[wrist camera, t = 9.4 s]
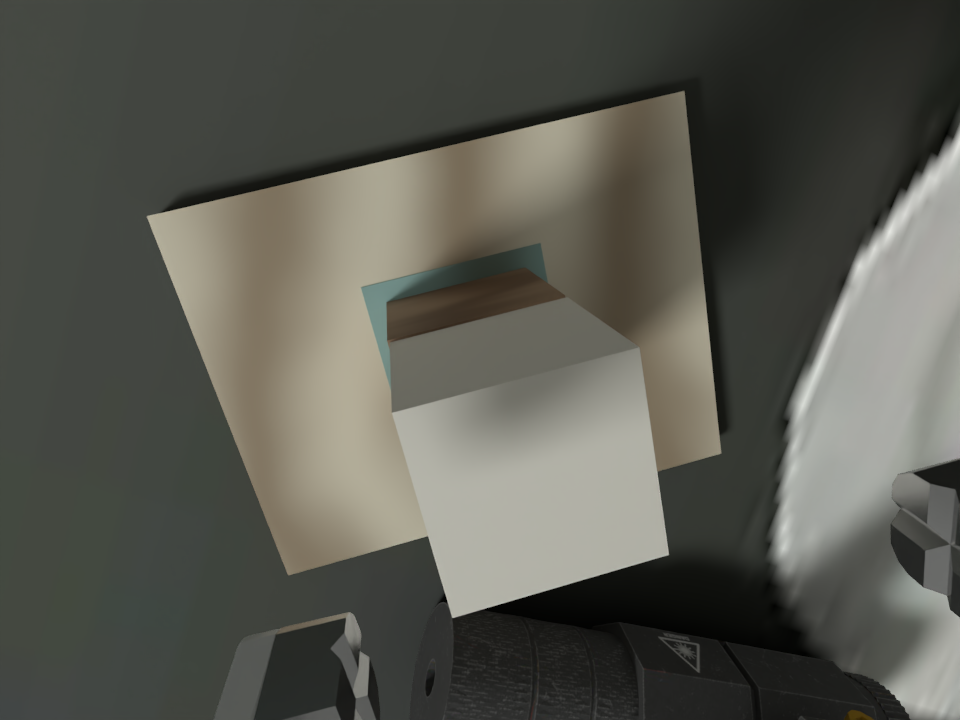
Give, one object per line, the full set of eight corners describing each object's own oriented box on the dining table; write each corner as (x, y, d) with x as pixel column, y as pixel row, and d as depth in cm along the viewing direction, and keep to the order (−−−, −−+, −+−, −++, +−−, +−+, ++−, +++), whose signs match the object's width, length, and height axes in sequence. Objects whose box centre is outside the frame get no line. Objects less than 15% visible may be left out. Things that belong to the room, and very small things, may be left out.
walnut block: (525, 267, 21) (565, 295, 17) (550, 395, 23) (593, 454, 18) (386, 302, 21) (387, 340, 16) (422, 430, 23) (432, 498, 18)
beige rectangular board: (671, 94, 21) (685, 90, 20) (708, 443, 26) (721, 454, 25) (157, 214, 20) (146, 216, 19) (291, 559, 25) (288, 575, 24)
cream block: (567, 297, 17) (639, 347, 12) (595, 455, 18) (668, 555, 14) (389, 342, 16) (391, 412, 12) (434, 500, 18) (452, 618, 13)
